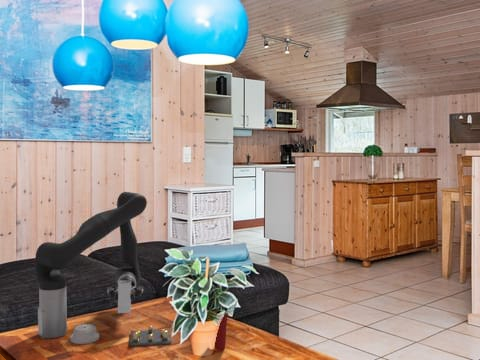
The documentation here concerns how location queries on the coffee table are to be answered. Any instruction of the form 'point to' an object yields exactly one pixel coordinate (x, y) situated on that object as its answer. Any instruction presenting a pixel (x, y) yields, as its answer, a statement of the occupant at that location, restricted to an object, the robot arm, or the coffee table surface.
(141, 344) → the pin plate
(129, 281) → the block
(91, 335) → the mechanical component
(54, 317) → the robot arm
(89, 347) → the coffee table surface
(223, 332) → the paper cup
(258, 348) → the coffee table surface
